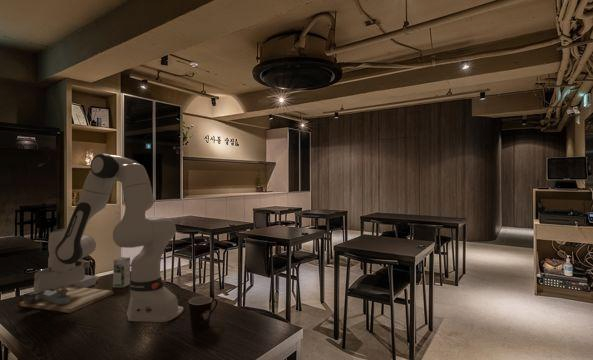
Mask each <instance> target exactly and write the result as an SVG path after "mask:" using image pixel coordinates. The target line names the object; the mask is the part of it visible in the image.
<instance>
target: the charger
mask: <svg viewBox="0 0 593 360" xmlns="http://www.w3.org/2000/svg"><path fill="white" fill-rule="evenodd" d="M100 277H101V276H100V275H99V276H97V275H95V274H93V275H89V274H85V278H84V279H83V280H81V281H78V282H74V283H71V284H67V286H75V287H83V288H90V287H92V286H95V285H96V282H97V280H99V279H100Z"/></svg>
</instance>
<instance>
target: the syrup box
mask: <svg viewBox="0 0 593 360" xmlns="http://www.w3.org/2000/svg"><path fill="white" fill-rule="evenodd" d="M112 271H113V272H112V273H113V276H112V277H113V278H112V279H113V280H112V282H113V283H112V287H113V288H119V289H120V288H121V289H123V288H126V287H127V286H130V285H129V284H130V279H131V256H128V257H127V256H119V257H118V256H117V257H115V258H113V270H112Z"/></svg>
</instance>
